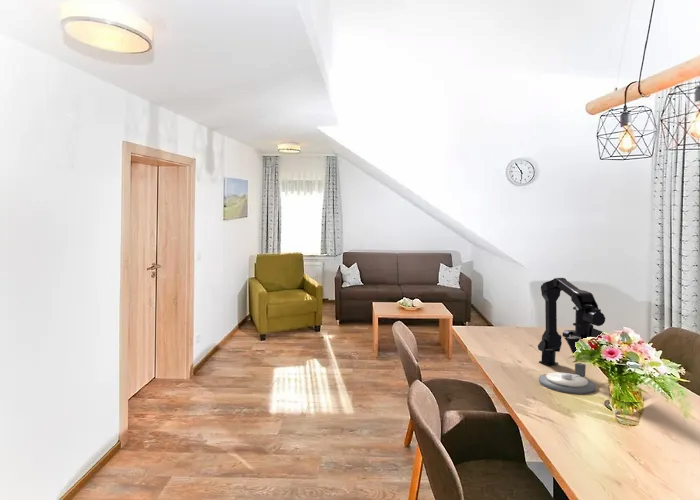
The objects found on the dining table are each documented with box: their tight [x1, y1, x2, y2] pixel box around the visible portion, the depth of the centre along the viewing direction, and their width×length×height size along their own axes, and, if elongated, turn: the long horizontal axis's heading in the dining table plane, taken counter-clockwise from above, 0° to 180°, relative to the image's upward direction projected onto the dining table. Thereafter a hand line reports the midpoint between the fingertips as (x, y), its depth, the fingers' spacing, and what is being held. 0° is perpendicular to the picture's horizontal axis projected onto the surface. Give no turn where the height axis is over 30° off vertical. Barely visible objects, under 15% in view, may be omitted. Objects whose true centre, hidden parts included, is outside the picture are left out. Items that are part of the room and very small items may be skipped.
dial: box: [546, 362, 589, 387], centre depth 187 cm, size 20×16×6 cm
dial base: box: [538, 372, 597, 395], centre depth 187 cm, size 22×22×2 cm
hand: (582, 357), depth 187 cm, fingers open, 9 cm apart
